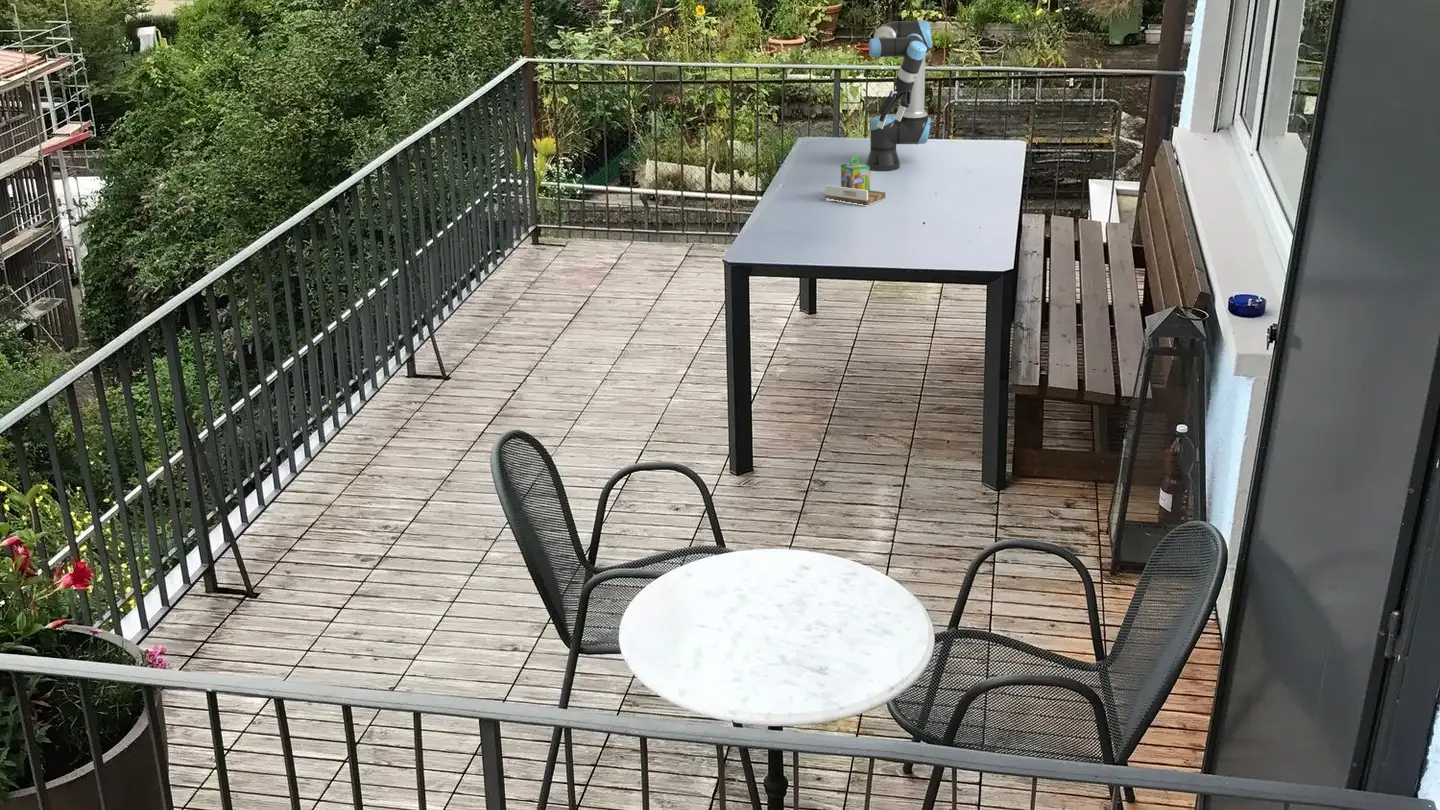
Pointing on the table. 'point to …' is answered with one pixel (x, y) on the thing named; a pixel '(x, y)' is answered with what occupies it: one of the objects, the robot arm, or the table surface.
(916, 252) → the table surface
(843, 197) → the shelf board
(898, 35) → the robot arm
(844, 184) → the chalk box
